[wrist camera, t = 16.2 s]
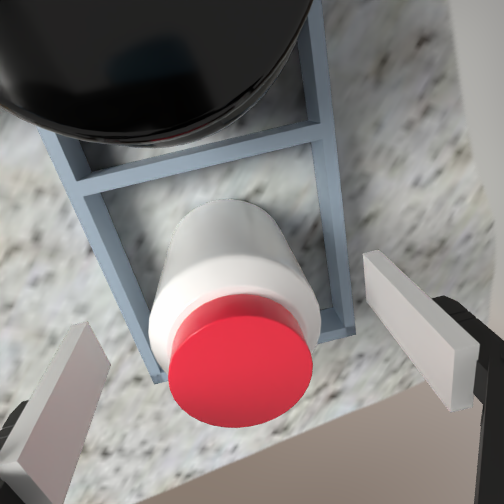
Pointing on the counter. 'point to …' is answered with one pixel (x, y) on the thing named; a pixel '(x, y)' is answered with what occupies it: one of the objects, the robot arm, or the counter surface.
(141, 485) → the counter surface
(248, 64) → the supplement container
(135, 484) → the counter surface
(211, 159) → the frame
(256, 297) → the pill bottle
